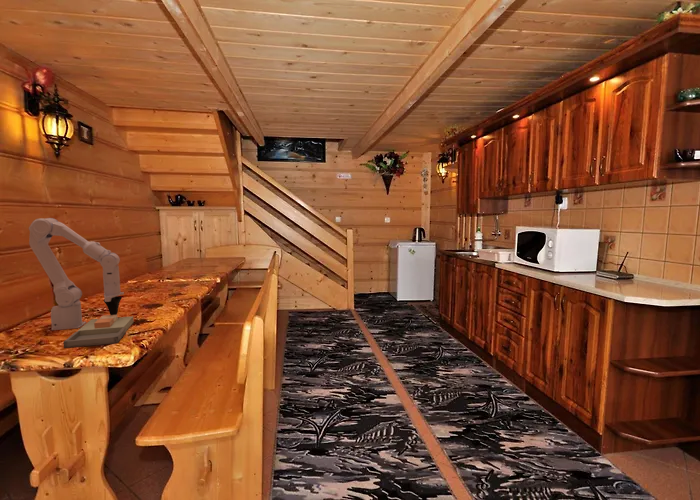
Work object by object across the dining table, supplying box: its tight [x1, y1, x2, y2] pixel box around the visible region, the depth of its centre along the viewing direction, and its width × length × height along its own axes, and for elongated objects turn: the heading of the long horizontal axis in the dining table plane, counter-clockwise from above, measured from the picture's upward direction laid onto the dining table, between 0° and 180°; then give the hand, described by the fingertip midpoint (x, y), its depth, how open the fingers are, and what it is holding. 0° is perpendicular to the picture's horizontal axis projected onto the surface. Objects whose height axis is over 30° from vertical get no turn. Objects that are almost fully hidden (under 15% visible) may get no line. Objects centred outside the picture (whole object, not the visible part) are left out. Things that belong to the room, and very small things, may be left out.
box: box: [63, 328, 127, 349], centre depth 135 cm, size 16×11×2 cm
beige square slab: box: [76, 315, 135, 336], centre depth 147 cm, size 15×15×2 cm
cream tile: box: [99, 314, 118, 322], centre depth 149 cm, size 5×5×2 cm
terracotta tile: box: [94, 318, 114, 328], centre depth 143 cm, size 5×5×2 cm
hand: (113, 314), depth 156 cm, fingers closed
